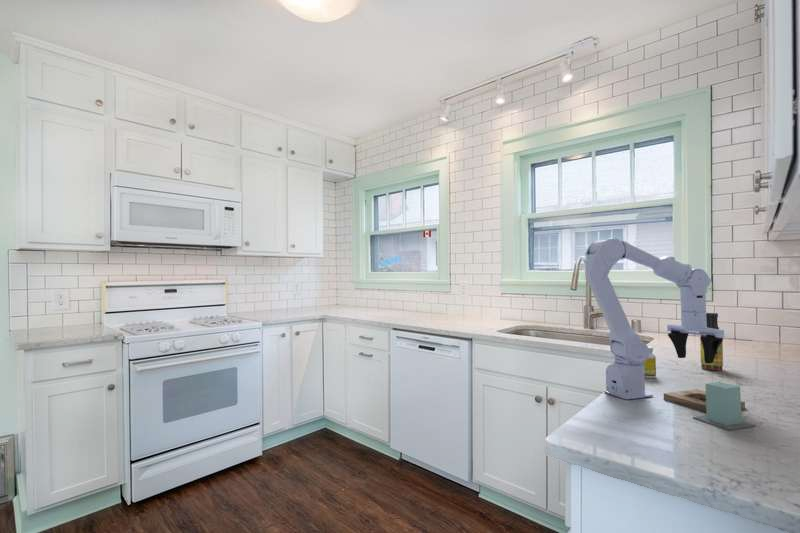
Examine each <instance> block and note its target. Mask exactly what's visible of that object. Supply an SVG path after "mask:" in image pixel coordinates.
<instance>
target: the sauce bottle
mask: <svg viewBox="0 0 800 533" xmlns="http://www.w3.org/2000/svg"><path fill="white" fill-rule="evenodd" d="M718 317H719V313H717V312H706V322H707V328H713V329H719V330H720V328H719V327H720V326H719V324H718ZM700 337H706V336H704V335H700ZM699 341H700V344H699V345H700V346H699V347H700V352H699V353H700V355H699V356H700V364H701V365H700V367H701V368H702V369H703V370H708V371H715V372H716V371H722V370H723V366H724V354H723V353H724V349H723V348H724V347H723V342H724V340H723V341H722V342H721V344H720V345H719V347H718V349H717V351H716V354H715V357H714V361H713V363H705V360H704V349H703V345H702V341H701V339H700V338H699Z"/></svg>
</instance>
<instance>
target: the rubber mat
mask: <svg viewBox="0 0 800 533" xmlns="http://www.w3.org/2000/svg"><path fill="white" fill-rule="evenodd" d="M692 419H694V420H697V421H700V422H703V423H706V424H709V425H712V426H714V427H715V426H716V427H718V428H721V429H724V430H728V431H735V430H741V429H747V428H752V427H754V428H755V427H757V424H755V423H752V422H748V421H745V420H742V419H741V422H742V423H738V424H732V425H725V424H722V423H719V422H716V421H713V420H709V419H707V414H704V415H697V416H693V417H692Z"/></svg>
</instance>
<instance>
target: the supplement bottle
mask: <svg viewBox="0 0 800 533" xmlns="http://www.w3.org/2000/svg"><path fill="white" fill-rule="evenodd" d="M647 346H648V348H649V357H648V359H647V360H646V361H645V365H644V373H645V378H646V379H655V378H657V367H656V365H657V362H656V361H657V359H656V358H657V357H656V354H655V353H653V351H654V348H653V346H651V345H650V346H649V345H647Z"/></svg>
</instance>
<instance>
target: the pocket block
mask: <svg viewBox="0 0 800 533" xmlns="http://www.w3.org/2000/svg"><path fill="white" fill-rule="evenodd" d="M663 400H665V401H669V402H671V403H674V404H678V405H681V406H684V407H687V408H691V409H694V410H697V411H701V412H704V413H706V390H705V391H704V390H701V389H699V388H698V389H697V388H696V389H695V388H694V389H687V390H679V391H671V392H663ZM745 408H746V401H744V400H741V410H742V409H745Z"/></svg>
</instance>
